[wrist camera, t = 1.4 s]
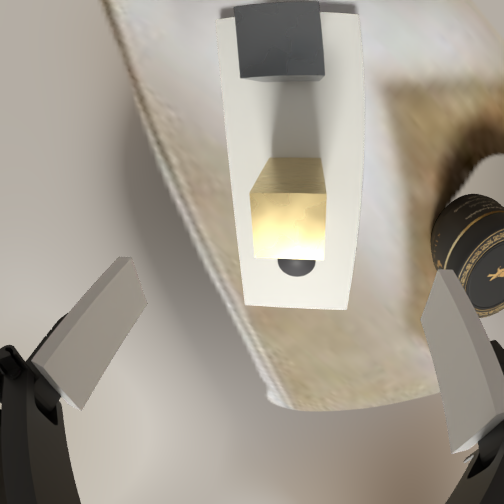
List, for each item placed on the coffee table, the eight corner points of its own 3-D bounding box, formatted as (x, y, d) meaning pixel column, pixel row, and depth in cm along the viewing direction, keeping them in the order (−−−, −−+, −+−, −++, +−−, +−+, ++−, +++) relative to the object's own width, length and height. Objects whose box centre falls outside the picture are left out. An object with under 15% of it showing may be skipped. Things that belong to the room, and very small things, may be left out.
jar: (419, 200, 23) (451, 242, 17) (499, 178, 19) (543, 211, 13) (428, 282, 27) (449, 333, 21) (498, 259, 24) (528, 302, 17)
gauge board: (220, 23, 18) (215, 19, 17) (355, 18, 16) (358, 14, 14) (247, 295, 32) (244, 305, 31) (345, 300, 30) (346, 310, 29)
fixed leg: (261, 35, 17) (233, 6, 10) (315, 33, 16) (318, 1, 9) (265, 82, 19) (240, 78, 12) (318, 81, 18) (325, 75, 11)
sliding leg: (269, 156, 22) (249, 192, 15) (320, 156, 21) (326, 194, 14) (272, 202, 24) (254, 257, 17) (320, 203, 23) (323, 260, 16)
